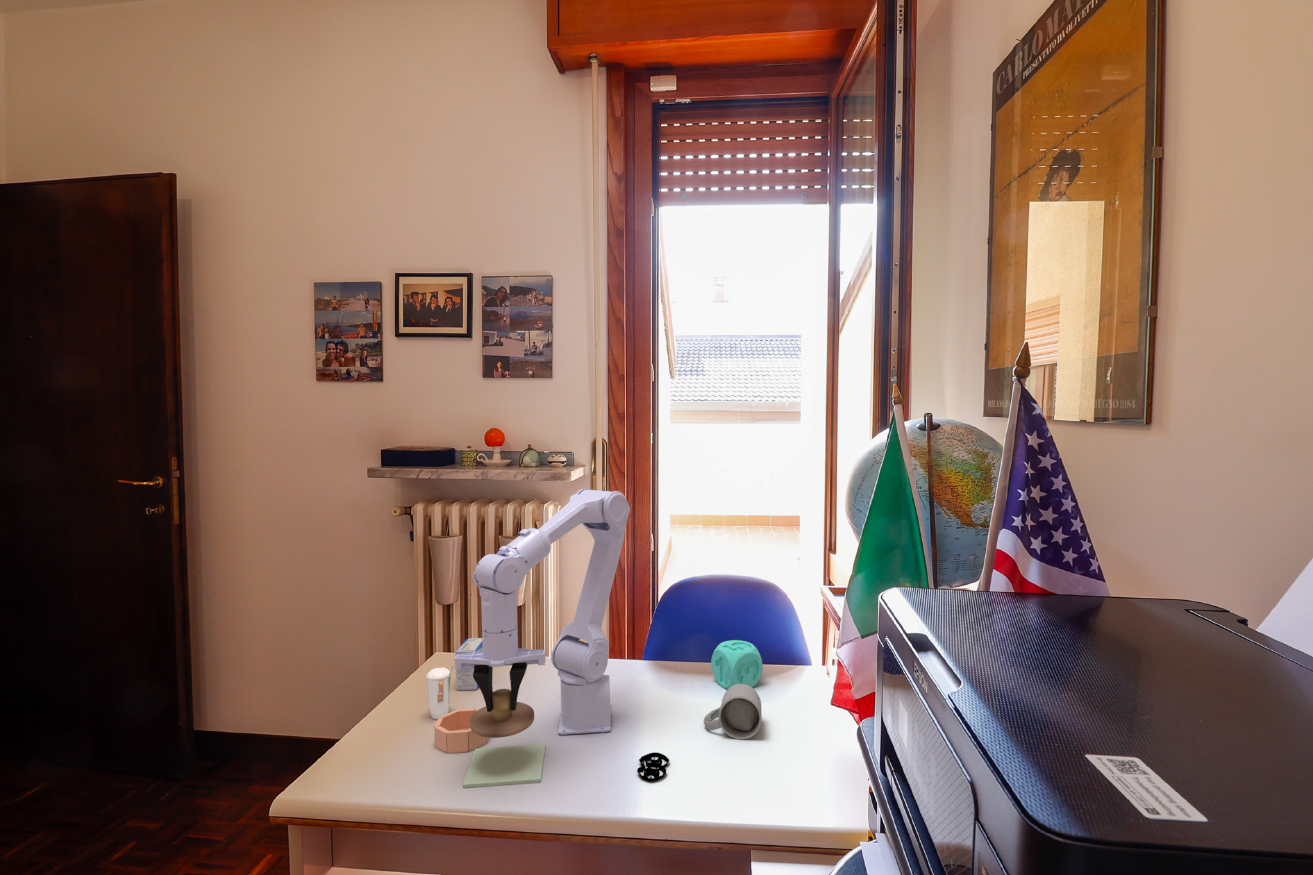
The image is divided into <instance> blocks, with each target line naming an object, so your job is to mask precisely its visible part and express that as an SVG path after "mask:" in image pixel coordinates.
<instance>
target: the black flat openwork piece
mask: <svg viewBox="0 0 1313 875" xmlns="http://www.w3.org/2000/svg"><path fill="white" fill-rule="evenodd" d="M648 761H650V762H648ZM658 761H659V762H658ZM663 761H664V763H663ZM638 762H639V763H640V764H641V766H640V767H638V768H637V769H636V772H637V773H638V775H639V776H640V778H641V779H642V780H644V781H646V782H651V783H654V782H657V781H658V780H661V779H663V778H664V777H665V774H667V769H666V767H667V766H668V763H670V759H669V757H667V756H666V755H665V754H663V753H660V752H650V753H647V754H644V755H642V756H641V757H640V758H639V759H638ZM661 773H662V774H661ZM660 774H661V775H660Z"/></svg>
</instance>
